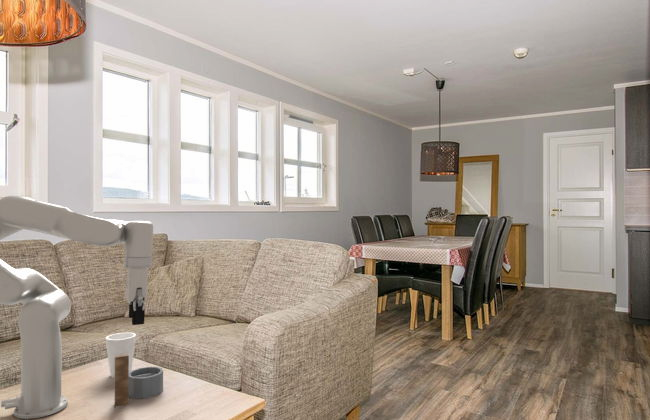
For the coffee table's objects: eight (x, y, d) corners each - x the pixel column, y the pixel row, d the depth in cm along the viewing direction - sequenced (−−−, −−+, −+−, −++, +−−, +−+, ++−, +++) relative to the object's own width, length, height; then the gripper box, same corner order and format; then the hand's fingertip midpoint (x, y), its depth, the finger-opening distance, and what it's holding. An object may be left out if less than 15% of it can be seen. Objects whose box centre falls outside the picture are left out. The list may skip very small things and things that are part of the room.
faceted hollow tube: (129, 401, 126) (129, 380, 126) (127, 389, 135) (127, 369, 135) (164, 394, 131) (164, 374, 131) (160, 383, 139) (160, 364, 139)
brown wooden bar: (114, 407, 122) (115, 357, 122) (114, 403, 124) (114, 355, 124) (128, 404, 124) (128, 355, 124) (127, 401, 126) (128, 353, 126)
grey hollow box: (134, 395, 129) (134, 381, 129) (132, 389, 133) (133, 376, 133) (158, 390, 132) (158, 377, 132) (156, 384, 136) (156, 372, 137)
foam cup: (141, 372, 149) (141, 335, 149) (116, 381, 141) (116, 341, 141) (125, 367, 154) (125, 331, 154) (99, 375, 146) (99, 337, 146)
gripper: (122, 260, 133) (119, 315, 133) (127, 266, 118) (124, 328, 118) (148, 259, 137) (146, 313, 137) (156, 265, 122) (153, 326, 122)
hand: (136, 320), depth 127 cm, fingers open, 9 cm apart
